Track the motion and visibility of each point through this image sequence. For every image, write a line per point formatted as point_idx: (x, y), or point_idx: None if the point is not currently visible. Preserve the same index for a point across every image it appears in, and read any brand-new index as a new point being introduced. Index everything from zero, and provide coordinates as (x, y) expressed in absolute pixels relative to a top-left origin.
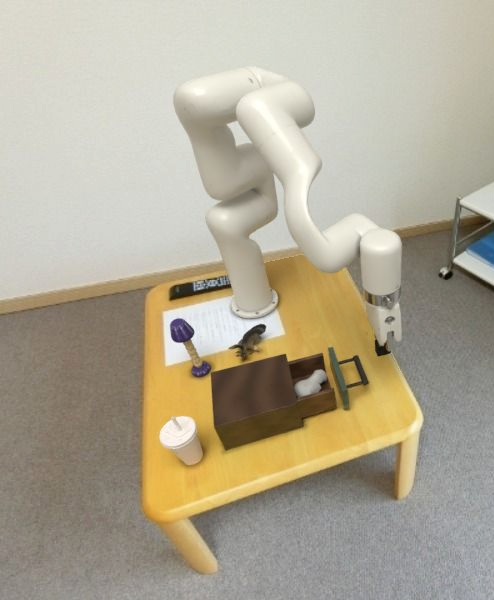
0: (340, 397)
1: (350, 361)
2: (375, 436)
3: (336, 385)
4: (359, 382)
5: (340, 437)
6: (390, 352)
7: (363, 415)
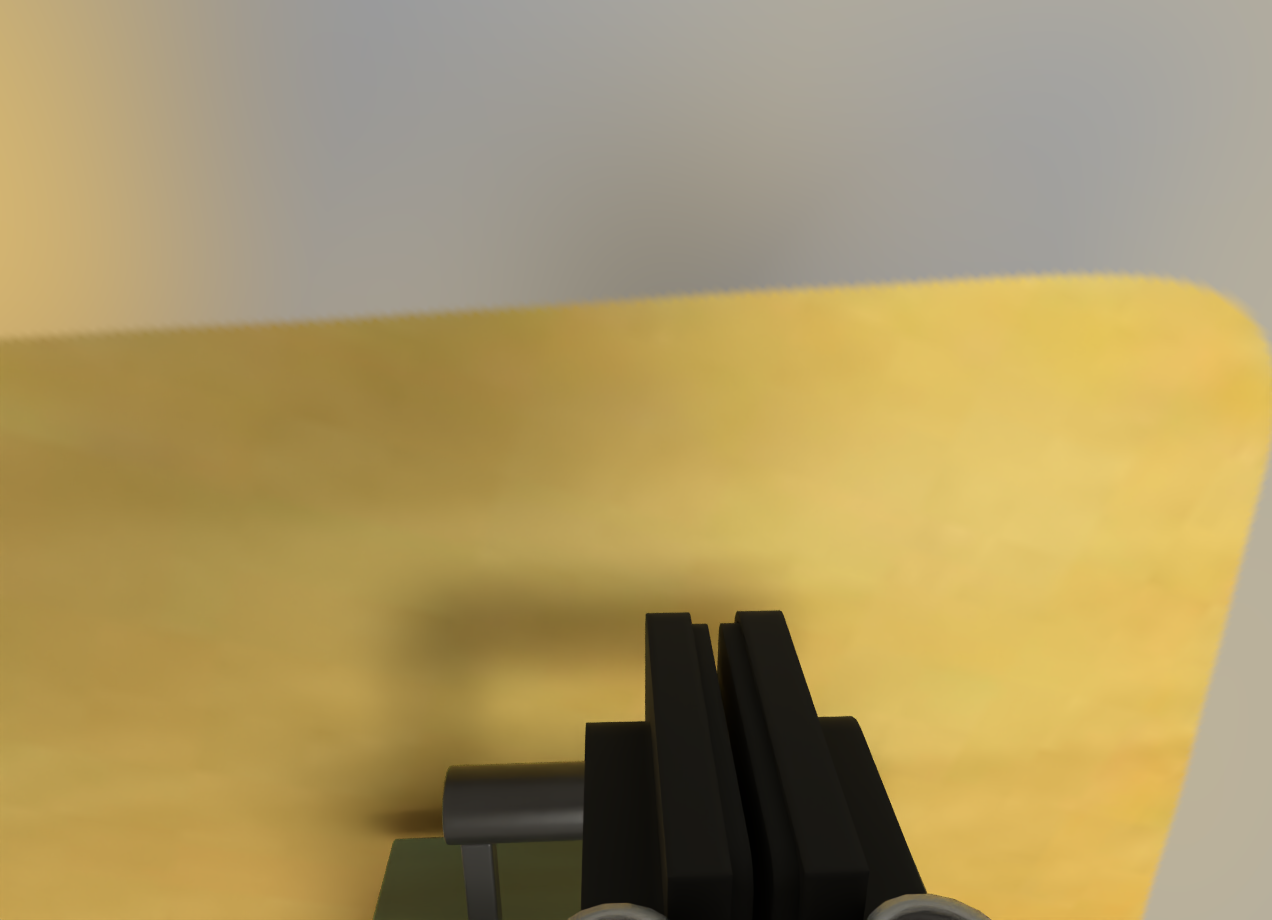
0: None
1: (495, 857)
2: (1210, 673)
3: None
4: None
5: (1071, 883)
6: (783, 622)
7: (982, 709)
